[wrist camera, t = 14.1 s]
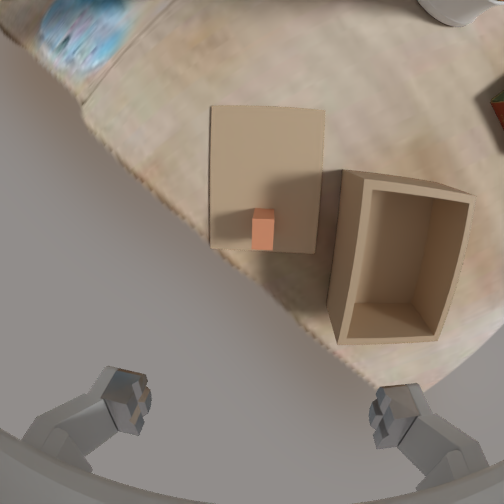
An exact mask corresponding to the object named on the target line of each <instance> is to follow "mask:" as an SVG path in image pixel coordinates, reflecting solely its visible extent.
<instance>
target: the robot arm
mask: <svg viewBox="0 0 504 504" xmlns="http://www.w3.org/2000/svg"><path fill="white" fill-rule="evenodd" d="M147 382H148V380H147V377H146V375H145V374H142V373H138V372H133V371H129V370H124V369H120V368H115V367H111V366H106V367H105V368H104V369H103V370H102V372H101V374H100V375H99V377H98V378H97V380H96V381H95V383H94V385H93V386H92V388H91V389H90V391H89V392H88V394H82V395H80V396H78V397H76V398H74V399H73V400H70V401H68V402H66V403H64V404H62V405H60V406H58V407H56V408H54V409H52V410H50V411H48V412H46V413H44V414H42V415H40V416H37V417H36V418H35V420H34V421H33V423H32V424H31V426H30V427H29V429H28V430H27V432H26V433H25V435H24V436H23V438H22V439H21V440H20V439H18V438H16V437H15V436H13V435H11V434H9V433H8V432H6V431H4V430H3V429H1V428H0V504H214V503H207V502H200V501H194V500H188V499H183V498H177V497H173V496H168V495H163V494H159V493H154V492H151V491H147V490H143V489H139V488H136V487H132V486H129V485H125V484H122V483H119V482H116V481H113V480H110V479H106V478H104V477H101V476H98V475H95V474H93V473H91V472H92V467H91V465H90V464H89V463H88V462H87V460H86V459H85V456H86V455H88V454H89V453H91V452H92V451H93V450H95V449H96V448H97V447H99V446H100V445H101V444H103V443H104V442H105V441H107V440H108V439H109V438H111V437H112V436H113V435H115V434H116V433H117V432H118V431H120V432H124V433H129V434H133V435H137V436H139V435H140V432H141V430H142V427H143V425H144V419H143V416H145V415H146V414H148V412H149V410H150V407H151V401H152V398H151V391H150V389H149V388H148V387H147V386H146V385H147ZM376 397H377V399H376V400H375V401H373V402H372V404H371V406H370V410H369V421H370V425H371V427H373V428H374V429H375V430H376V431H375V433H374V434H373V437H374V441H375V445H376V449H383V448H391V447H397V448H398V449H399V450H400V451H401V452H402V453H403V454H404V455H405V456H406V457H407V458H408V459H409V460H410V461H411V462H412V463H413V464H414V465H415V466H416V467H417V468H418V469H419V470H420V471H421V472H422V473H423V474H424V475H425V476H426V477H425V478H424V479H423V480H422V481H421V482H420V483H419V484H418V486H417V487H416V490H417V491H416V492H412V493H409V494H404V495H400V496H396V497H390V498H385V499H380V500H374V501H368V502H361V503H355V504H504V460H503V461H500V462H498V463H496V464H494V465H492V466H489V464H488V462H487V460H486V458H485V455H484V453H483V451H482V449H481V446H480V444H479V442H478V441H476V440H475V439H473V438H472V437H470V436H469V435H467V434H466V433H464V432H463V431H461V430H460V429H458V428H457V427H455V426H454V425H452V424H451V423H449V422H448V421H447V420H445V419H444V418H442V417H440V416H439V415H438V414H433V413H432V411H431V409H430V407H429V404H428V402H427V400H426V398H425V396H424V394H423V392H422V390H421V387H420V385H419V384H417V383H413V384H405V385H394V386H384V387H380V388H379V389H378V390H377V392H376Z"/></svg>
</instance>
